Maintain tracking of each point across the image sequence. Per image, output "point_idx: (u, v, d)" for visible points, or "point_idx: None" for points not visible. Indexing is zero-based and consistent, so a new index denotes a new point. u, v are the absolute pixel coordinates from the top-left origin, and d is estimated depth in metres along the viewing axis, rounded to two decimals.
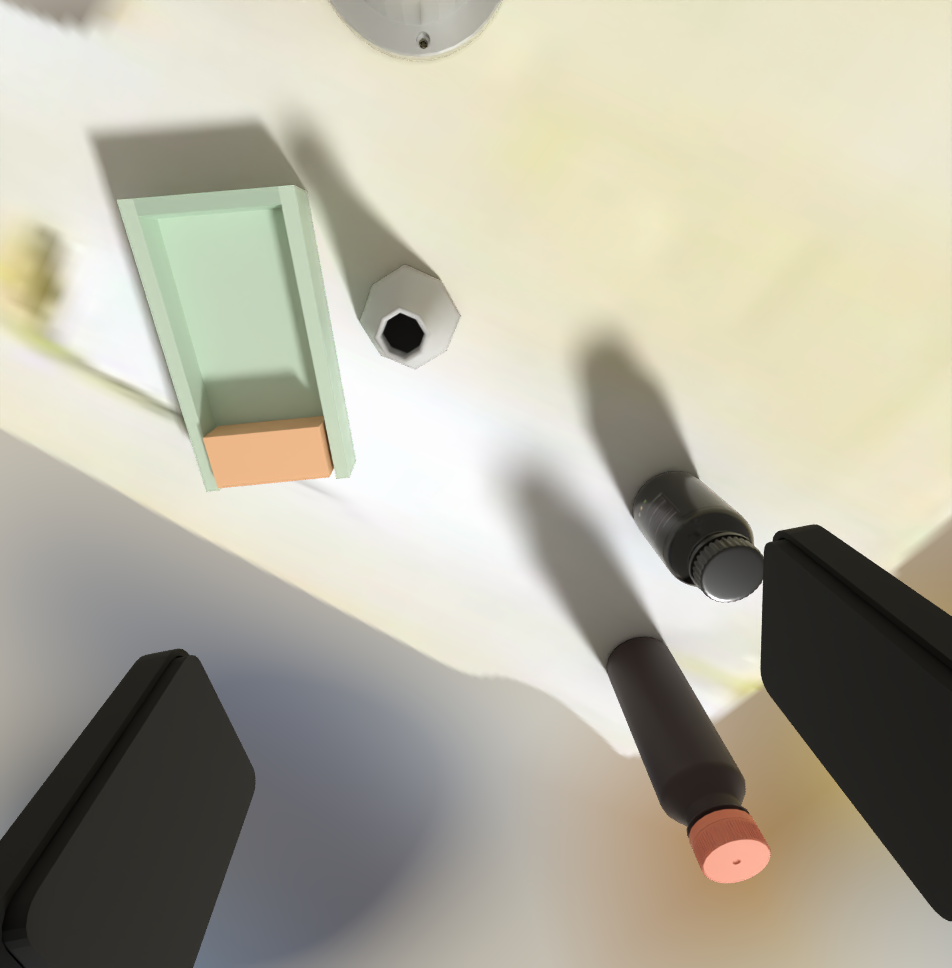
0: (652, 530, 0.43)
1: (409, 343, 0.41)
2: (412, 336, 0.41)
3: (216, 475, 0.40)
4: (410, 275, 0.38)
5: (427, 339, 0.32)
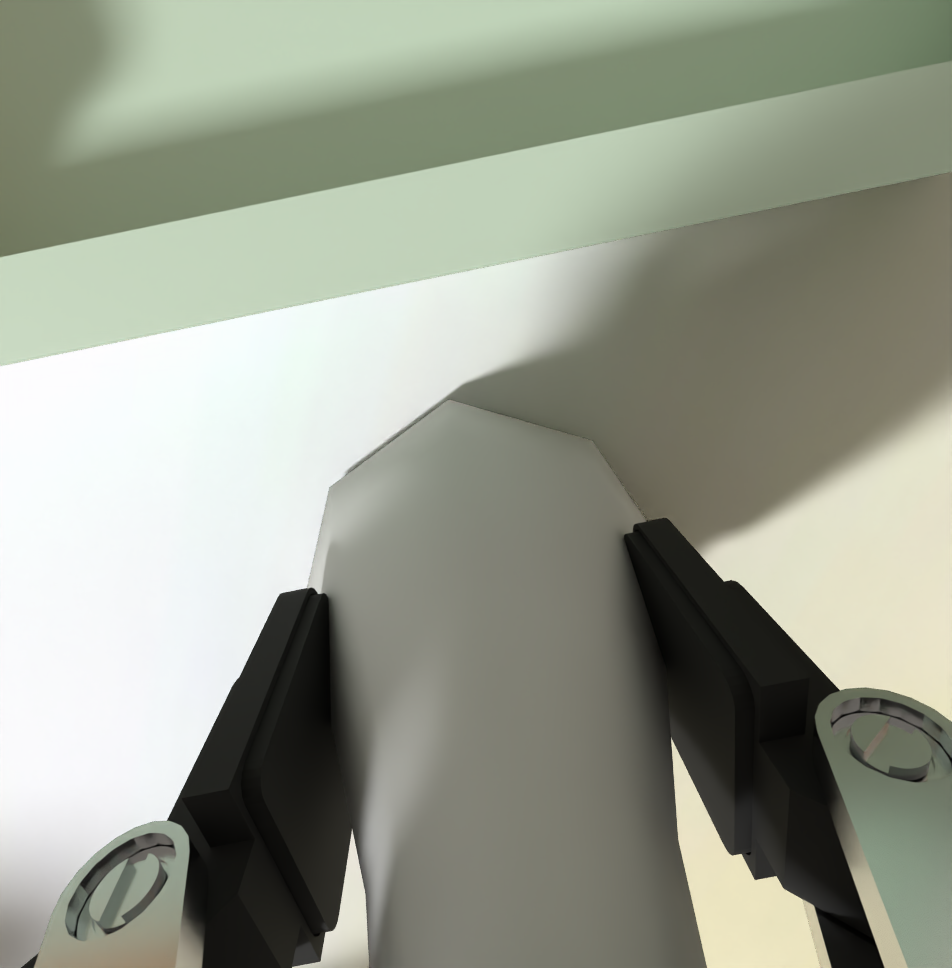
0: None
1: None
2: None
3: None
4: None
5: None
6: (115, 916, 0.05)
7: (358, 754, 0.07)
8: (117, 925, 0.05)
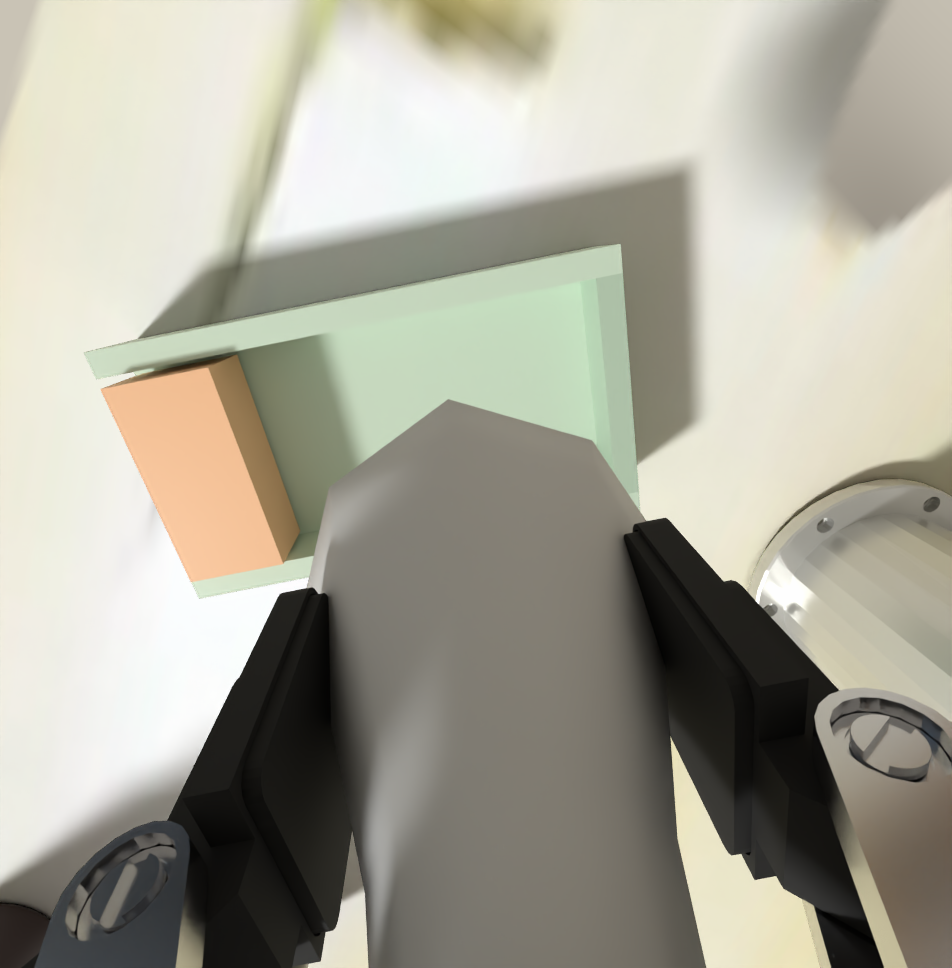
0: None
1: None
2: None
3: (130, 388, 0.19)
4: None
5: None
6: (115, 916, 0.05)
7: (357, 755, 0.07)
8: (119, 924, 0.05)
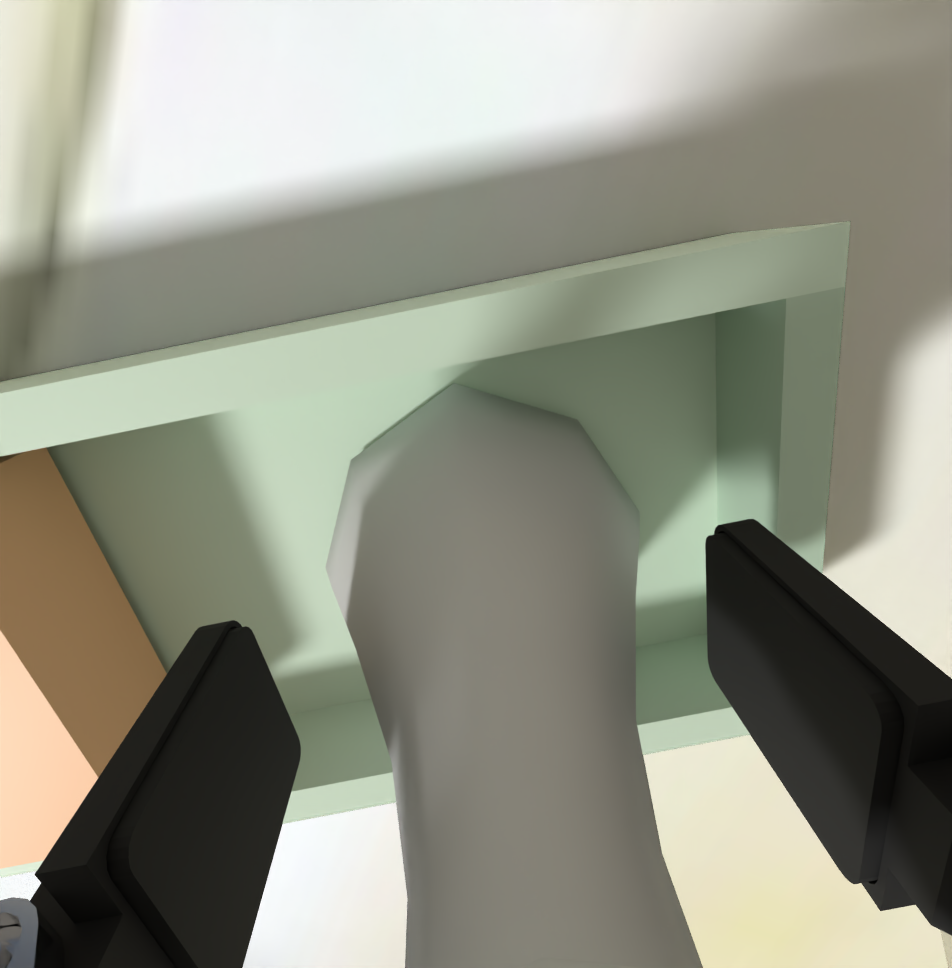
0: None
1: None
2: None
3: None
4: None
5: None
6: None
7: (382, 663, 0.08)
8: None
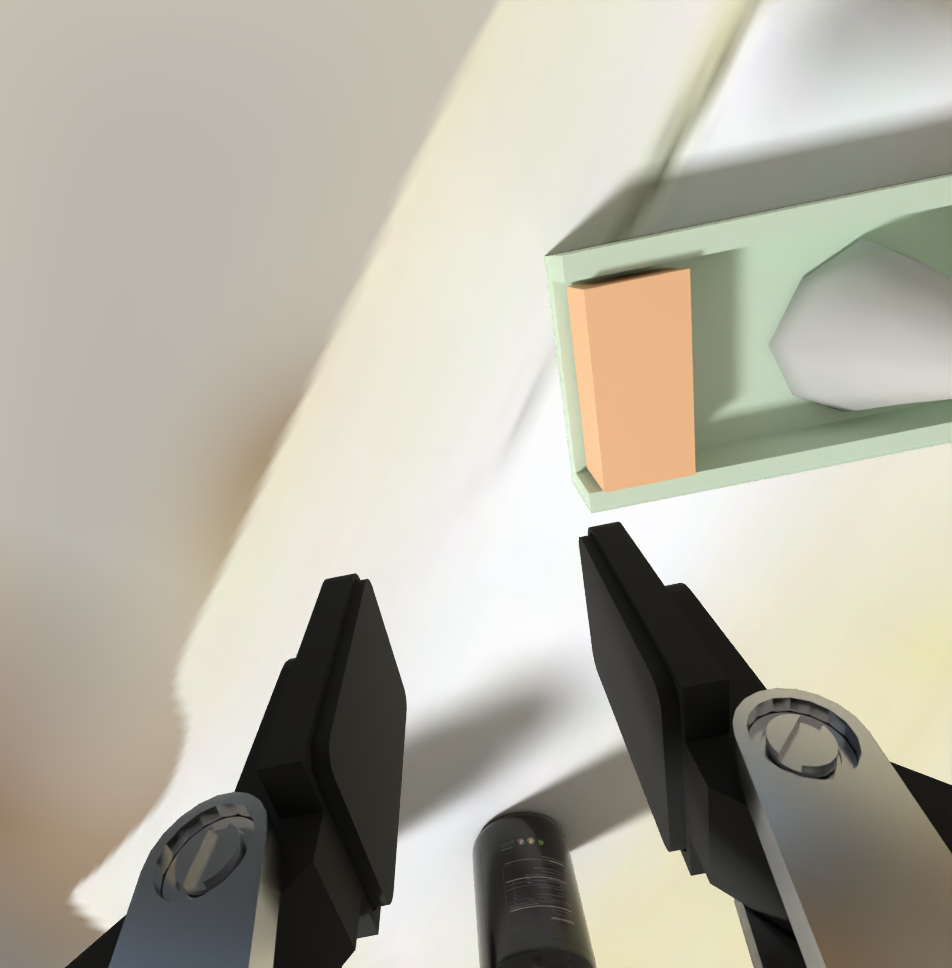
0: (529, 891, 0.32)
1: None
2: None
3: (611, 289, 0.20)
4: None
5: None
6: (197, 881, 0.05)
7: (894, 335, 0.20)
8: (199, 889, 0.05)
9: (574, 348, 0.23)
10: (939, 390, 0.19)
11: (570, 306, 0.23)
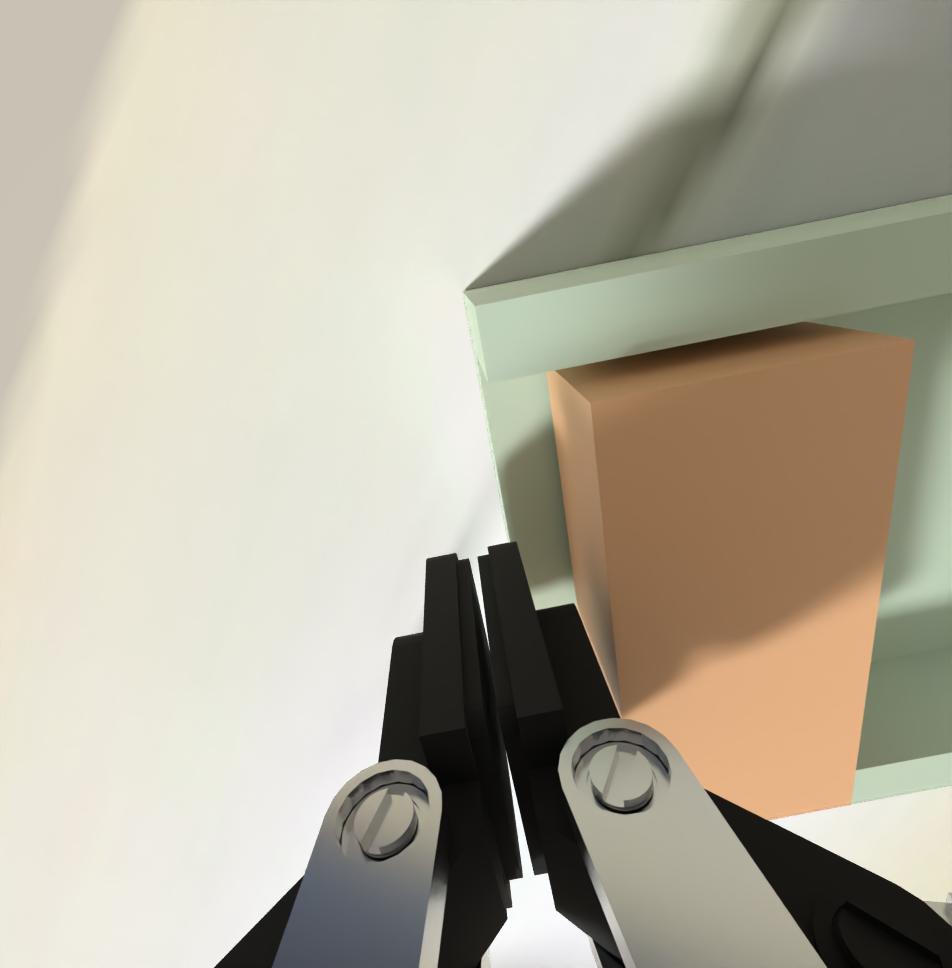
0: None
1: None
2: None
3: (674, 401, 0.07)
4: None
5: None
6: (373, 843, 0.05)
7: None
8: (373, 849, 0.05)
9: (565, 499, 0.10)
10: None
11: (555, 410, 0.09)
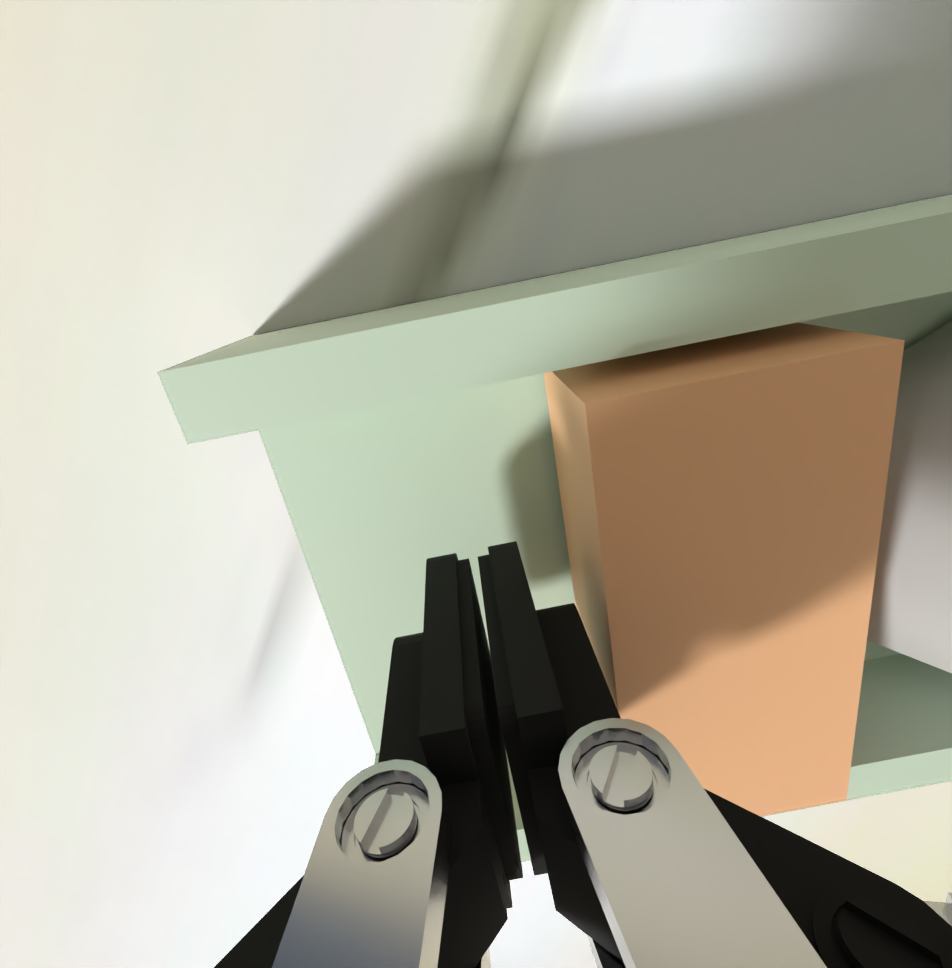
0: None
1: None
2: None
3: (667, 402, 0.07)
4: None
5: None
6: (373, 842, 0.05)
7: None
8: (373, 849, 0.05)
9: (562, 498, 0.10)
10: None
11: (552, 410, 0.09)
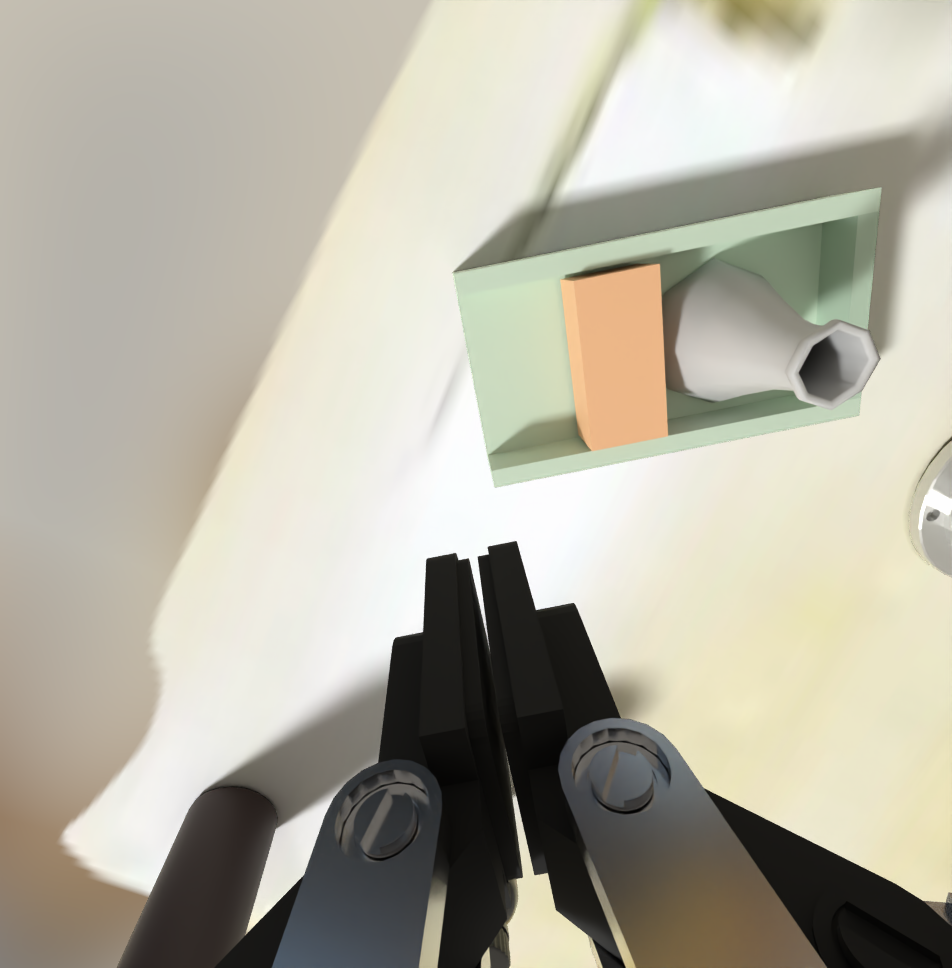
0: None
1: None
2: None
3: (596, 281, 0.25)
4: None
5: (824, 405, 0.20)
6: (373, 842, 0.05)
7: (721, 338, 0.24)
8: (373, 849, 0.05)
9: (567, 331, 0.28)
10: (754, 383, 0.24)
11: (563, 295, 0.27)
